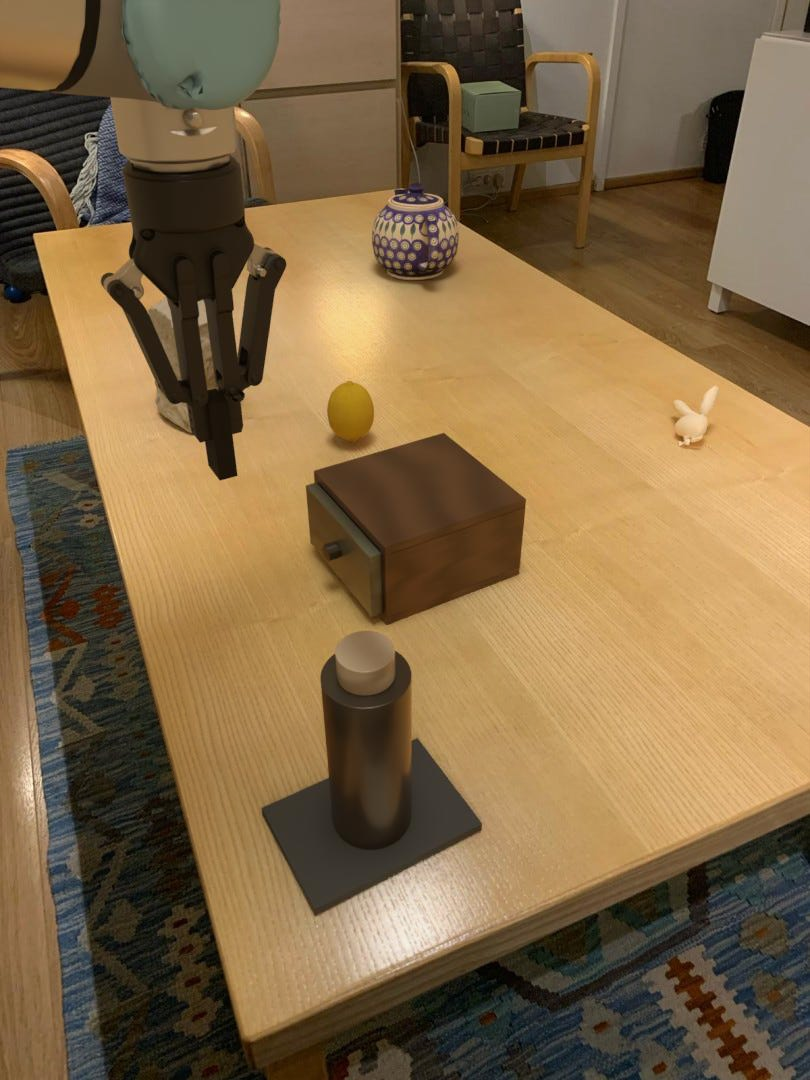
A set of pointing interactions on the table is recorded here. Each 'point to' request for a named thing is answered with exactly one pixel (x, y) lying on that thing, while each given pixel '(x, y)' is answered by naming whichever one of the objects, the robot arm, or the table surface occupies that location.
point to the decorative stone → (165, 331)
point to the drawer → (345, 549)
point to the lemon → (350, 411)
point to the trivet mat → (347, 870)
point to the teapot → (415, 235)
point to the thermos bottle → (368, 739)
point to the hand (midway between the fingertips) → (222, 470)
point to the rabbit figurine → (694, 417)
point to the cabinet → (430, 521)
